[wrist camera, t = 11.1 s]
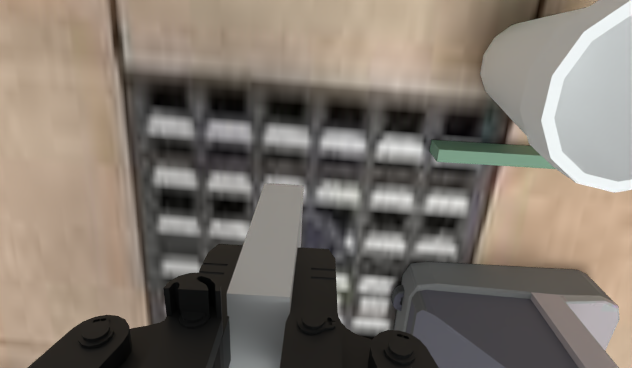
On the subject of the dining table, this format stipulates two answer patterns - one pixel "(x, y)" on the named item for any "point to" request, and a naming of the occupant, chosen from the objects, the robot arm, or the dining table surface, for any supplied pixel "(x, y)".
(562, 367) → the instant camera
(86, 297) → the dining table surface
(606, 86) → the foam cup
